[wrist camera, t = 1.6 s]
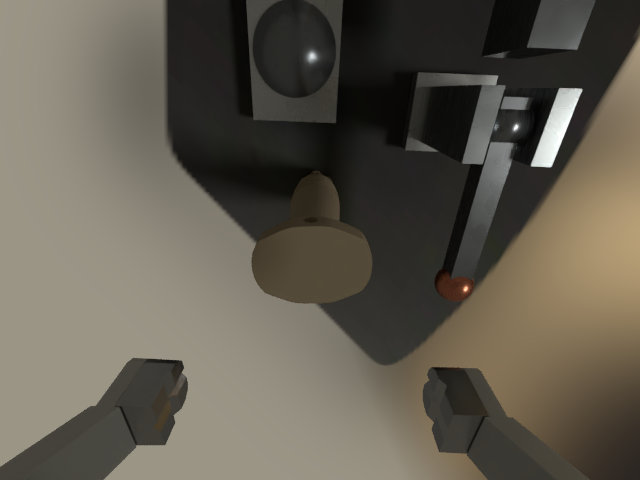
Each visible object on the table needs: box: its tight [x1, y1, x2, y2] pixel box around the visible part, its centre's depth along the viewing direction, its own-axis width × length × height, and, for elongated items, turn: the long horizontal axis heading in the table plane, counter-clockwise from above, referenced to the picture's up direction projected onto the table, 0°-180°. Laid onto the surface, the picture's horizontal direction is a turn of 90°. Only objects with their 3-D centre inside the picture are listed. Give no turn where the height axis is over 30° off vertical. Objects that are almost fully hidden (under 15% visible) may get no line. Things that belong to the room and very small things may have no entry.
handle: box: [252, 171, 372, 303], centre depth 22 cm, size 5×6×15 cm
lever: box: [435, 0, 595, 301], centre depth 18 cm, size 22×3×4 cm, turn 178°
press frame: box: [246, 0, 582, 167], centre depth 19 cm, size 12×20×11 cm, turn 88°
